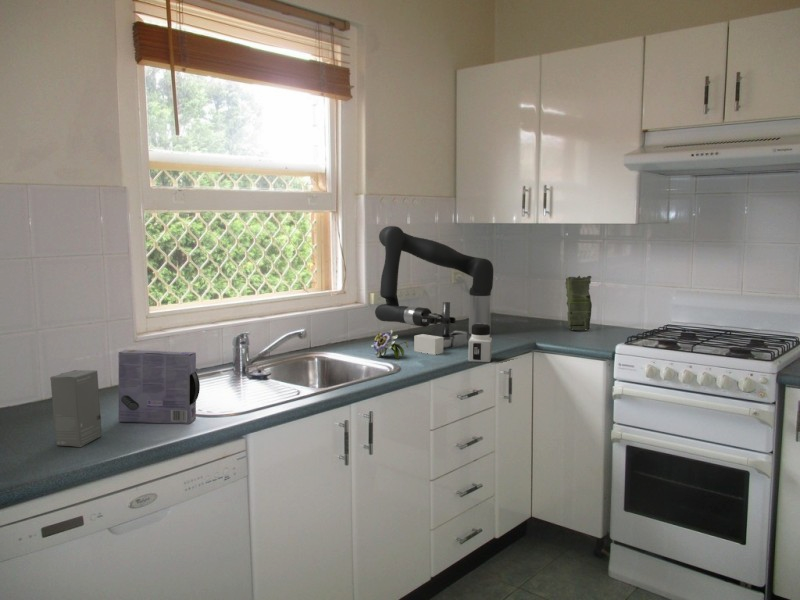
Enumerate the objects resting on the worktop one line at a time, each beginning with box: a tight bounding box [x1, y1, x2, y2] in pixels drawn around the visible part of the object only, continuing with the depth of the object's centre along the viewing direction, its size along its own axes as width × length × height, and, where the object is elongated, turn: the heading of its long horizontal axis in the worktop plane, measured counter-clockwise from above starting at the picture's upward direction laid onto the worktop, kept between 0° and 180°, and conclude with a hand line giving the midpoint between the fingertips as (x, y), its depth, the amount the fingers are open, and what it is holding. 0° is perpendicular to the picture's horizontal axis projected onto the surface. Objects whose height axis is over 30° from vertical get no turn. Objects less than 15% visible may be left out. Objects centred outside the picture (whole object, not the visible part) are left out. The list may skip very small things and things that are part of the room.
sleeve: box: [447, 330, 469, 349], centre depth 265 cm, size 9×5×5 cm, turn 139°
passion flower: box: [370, 329, 409, 360], centre depth 243 cm, size 11×11×12 cm
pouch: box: [565, 275, 593, 331], centre depth 303 cm, size 11×12×25 cm
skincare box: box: [50, 369, 103, 448], centre depth 150 cm, size 8×7×16 cm
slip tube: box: [441, 301, 453, 349], centre depth 261 cm, size 16×3×17 cm, turn 139°
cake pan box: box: [118, 349, 201, 425], centre depth 165 cm, size 19×5×18 cm, turn 88°
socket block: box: [413, 333, 444, 356], centre depth 252 cm, size 5×10×6 cm, turn 49°
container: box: [467, 323, 493, 363], centre depth 239 cm, size 8×8×13 cm
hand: (452, 320), depth 257 cm, fingers closed on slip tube, 3 cm apart
